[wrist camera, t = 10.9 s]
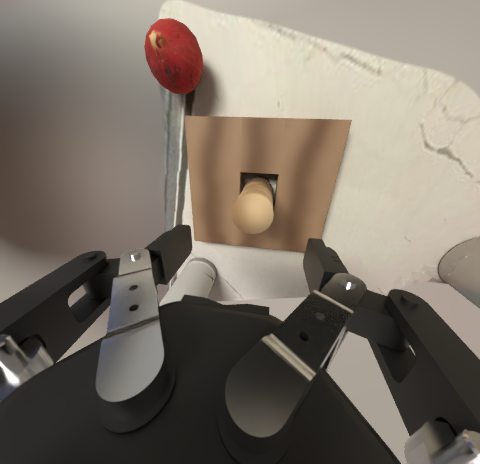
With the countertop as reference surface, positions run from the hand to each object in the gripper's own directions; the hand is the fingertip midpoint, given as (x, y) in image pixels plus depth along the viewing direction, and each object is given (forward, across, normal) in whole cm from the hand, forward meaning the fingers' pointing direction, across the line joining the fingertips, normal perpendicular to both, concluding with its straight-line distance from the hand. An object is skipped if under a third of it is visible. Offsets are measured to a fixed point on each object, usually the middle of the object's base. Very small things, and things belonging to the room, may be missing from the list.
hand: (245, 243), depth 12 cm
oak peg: (+18, 0, 0) cm, 18 cm away
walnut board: (+18, 0, 0) cm, 18 cm away
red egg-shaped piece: (+18, +10, -14) cm, 25 cm away
